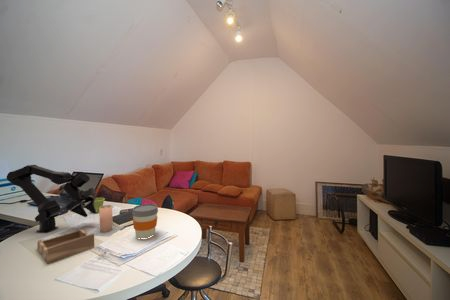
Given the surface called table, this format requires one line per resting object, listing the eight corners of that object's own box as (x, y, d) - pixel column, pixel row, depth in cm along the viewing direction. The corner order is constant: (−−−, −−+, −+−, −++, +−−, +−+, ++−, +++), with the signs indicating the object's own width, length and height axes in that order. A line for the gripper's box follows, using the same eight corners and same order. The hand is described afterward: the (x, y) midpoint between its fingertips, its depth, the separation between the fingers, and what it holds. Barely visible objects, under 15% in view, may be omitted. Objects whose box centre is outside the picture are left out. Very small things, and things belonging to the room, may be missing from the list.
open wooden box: (37, 251, 88) (37, 235, 87) (80, 237, 100) (79, 224, 100) (48, 266, 77) (47, 249, 77) (94, 249, 90) (94, 234, 89)
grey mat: (85, 236, 101) (85, 235, 101) (104, 226, 114) (104, 224, 114) (109, 238, 100) (109, 236, 100) (125, 227, 113) (125, 225, 113)
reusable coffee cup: (163, 233, 106) (163, 205, 106) (144, 243, 95) (144, 213, 94) (146, 228, 112) (145, 202, 111) (126, 238, 100) (126, 209, 100)
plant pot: (97, 214, 133) (96, 202, 132) (85, 213, 134) (85, 201, 134) (108, 210, 142) (107, 198, 141) (96, 209, 144) (96, 197, 143)
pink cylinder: (99, 233, 103) (98, 209, 102) (100, 229, 108) (100, 205, 108) (112, 231, 106) (111, 207, 105) (112, 227, 111) (112, 204, 110)
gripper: (77, 184, 100) (96, 208, 100) (95, 182, 119) (111, 202, 119) (56, 198, 98) (75, 222, 98) (78, 194, 116) (94, 214, 116)
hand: (91, 214), depth 108 cm, fingers open, 9 cm apart
